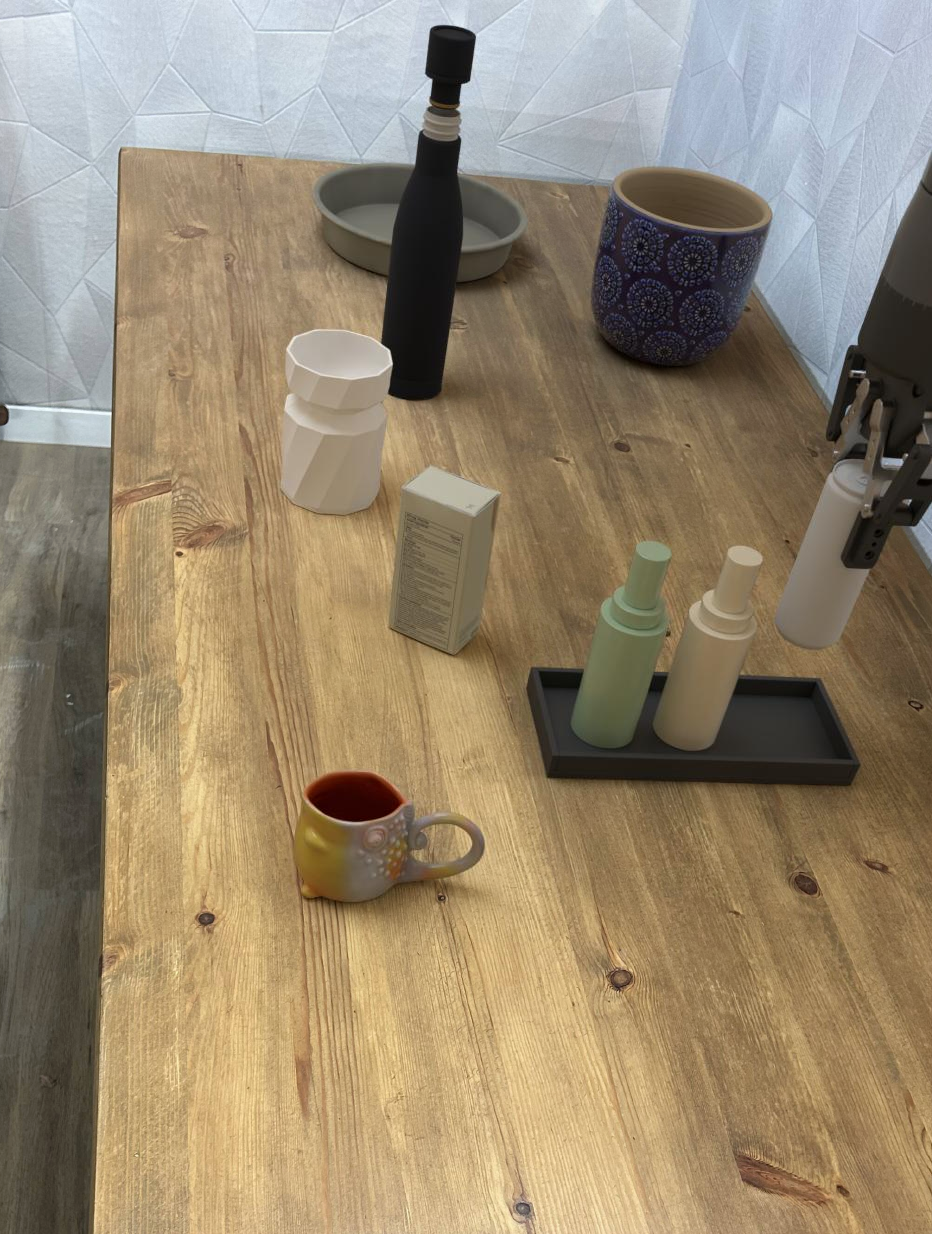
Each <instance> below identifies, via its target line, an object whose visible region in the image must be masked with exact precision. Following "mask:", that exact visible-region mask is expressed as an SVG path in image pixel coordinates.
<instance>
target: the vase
mask: <svg viewBox="0 0 932 1234" xmlns="http://www.w3.org/2000/svg"><path fill="white" fill-rule="evenodd" d="M284 364H285V365H284V366H285V377H286V378H285V379H286V383H287V388H288V390H289V391H291V393H289V394H287V395H286V399H285V404H284V409H283V416H282V425H281V442H280V443H281V477H280V483H279V485H280V488H279V489H280V491H281V492H282V493H283V494H284V495H285V497H286V498H288V500H289V501H290V502H291V504H293V505H296V506H298V507H301V508H303V509H306V510H308V511H310V512H313V513H315V514H323V515H341V516H346V515H351V514H353V513H356V512H359V511H363V510H365V509H369V507H370V506H371V505H372V503H373V502H374V501H375V499H376V498H377V497H378V494H379V491H380V485H381V472H382V457H383V450H384V444H385V438H386V437H385V436H386V431H387V423H388V414H387V412H386V410H385V408H384V405H383V404H382V402H383V401H385V400H386V399H387V397H388V395H389V393H388V390H389V386H390V377H391V372H392V366H393V363H392V358H391V353H390V350H389V349H388V348H386V347H385V346H383V345H382V344H381V342H379V341H378V340H377V339H375V338H373V337H372V336H369V335H364V334H361V333H358V332H355V331H354V332H353V331H350V330H347V329H319V328H315V329H312V330H309V331H306V332H303V333H300V334H297V335H294V336H293V337H292V338H291V341H289V344H288V345H287V347H286V349H285V363H284Z"/></svg>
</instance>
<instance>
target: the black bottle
mask: <svg viewBox="0 0 932 1234" xmlns="http://www.w3.org/2000/svg"><path fill="white" fill-rule="evenodd" d="M476 40H477V35H476V34H475V32H473V31H471V30H470V29H467V28H465V27H461V26H457V25H451V24H437V25H434V26H432V27H430V29H429V35H428V42H427V43H428V44H427V52H426V61H425V70H424V74H425V76H426V77H427V78H428V79H430V80H431V89H430V96H429V98H428V99H429V100H428V102H429V104H430V105H428V106H427V107H425V112H424V113H423V114H422V118H423V119H424V121H423V122H422V124H421V127H422V129H421V130H420V131H419V132H418V136H417V146H416V155H415V164H414V165H415V167H414V169H413V172H412V174H411V176H410V178H409V181H408V183H407V185H406V188H405V190H404V192H403V195H402V198H401V201H400V204H399V208H398V211H397V215H396V219H395V223H394V227H393V235H392V244H391V253H390V263H389V272H388V276H387V283H386V292H385V301H384V310H383V311H384V312H383V318H382V319H383V321H382V329H381V338H380V343H381V344H382V345H383V346H385V347H386V348H388V349H389V350H390V353H391V358H392V363H393V366H392V372H391V377H390V386H389V390H388V395H389V394H390V395H391V396H394V397H396V398H400V399H406V400H411V401H415V400H416V401H422V400H428V399H432V398H434V397H436V396H438V395H439V394H440V392H441V391H442V386H443V380H444V373H445V366H446V359H447V353H448V352H447V351H448V345H449V337H450V331H451V324H452V316H453V311H454V302H455V296H456V289H457V283H456V282H457V275H458V269H459V262H460V255H461V248H462V241H463V206H462V198H461V192H460V186H459V180H458V174H457V173H458V170H459V169H458V168H459V163H460V156H461V155H460V154H461V147H462V137H461V136H460V133H461V130H462V129H461V127H460V125H462V121H463V120H462V117H461V116H462V115H461V114H462V113H461V111H460V110H458V108H459V107H460V105H461V93H462V85H465V84H468V83H470V82H471V77H472V72H473V71H472V70H473V62H474V56H475V49H476V42H477V41H476Z"/></svg>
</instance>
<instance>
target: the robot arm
mask: <svg viewBox="0 0 932 1234" xmlns="http://www.w3.org/2000/svg"><path fill="white" fill-rule="evenodd" d="M871 296H872V297H871V299H870V302H869V304H868V306H867V310H866V312H865V315H864V318H863V321H862V324H861V327H860V329H859V332H858V335H857V344H850V345H849V346H848V347H847V350H846V352H845V356H844V360H843V364H842V367H841V372H840V376H839V379H838V384H837V388H836V391H835V395H834V399H833V403H832V406H831V409H830V415H829V419H828V422H827V425H826V431H825V440H826V441H827V442H833V443H834V445H833V447H832V449H831V452H830V462H831V464H832V468H831V470H830V473H831V472H832V471H833V468H834V466H835V465H836V464H837V463H838V462H840V461H843V460H846V459H862V460H865V461H864V465H863V470H862V471H863V474H864V475H865V476H866V477H867V485H866V489H865V494H864V498H863V502H862V507H861V511H859V513H858V515H857V518H856V520H855V523H854V525H853V527H852V530H851V532H850V535H849V537H848V540H847V542H846V544H845V547H844V549H843V552H842V554H841V561H842V562H843V564H844V566H845V567H846V568H852V569H870V570H871V569H872V568H874V567H875V566H876V564H877V563H878V560H879V558H880V556H881V553H882V551H883V549H884V547H885V545H886V542H887V540H888V538H889V535H890V533H891V531H892V528H893V527H894V526H895V527H911V528H913V527H917V526H918V524H919V523H920V522H921V520H922V518H923V517H924V516H925V514H926V512H927V511H928V509H929V508H930V506H931V504H932V149H931V151H930V153H929V156H928V158H927V161H926V164H925V167H924V169H923V172H922V175H921V178H920V180H919V182H918V185H917V186H916V190H915V192H914V193H913V195H912V197H911V199H910V201H909V203H908V205H907V207H906V209H905V211H904V213H903V215H902V217H901V219H900V222H899V224H898V227H897V229H896V231H895V234H894V237H893V240H892V242H891V245H890V247H889V251H888V254H887V256H886V259H885V262H884V264H883V267H882V270H881V272H880V275H879V278H878V280H877V283H876V286H875V289H874V291H873V294H872V295H871ZM847 409H848V410H847ZM883 458H884V459H897V460H902V462H903V463H902V464H901V465H894V464H893V465H892V464H883ZM885 481H892V482H891V484H890V486H889V487H888V489H887V491H886V492H885V494H884V496H883V497H882V499H879V498H880V494H881V490H882V486H883V483H884V482H885ZM910 500H911V501H910Z"/></svg>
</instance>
